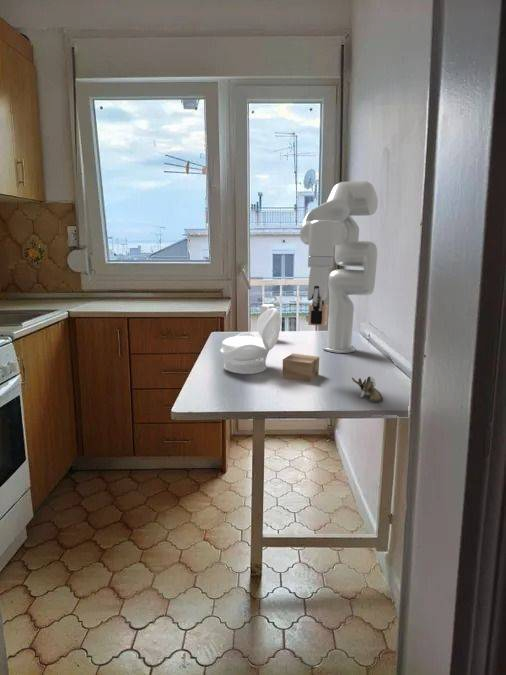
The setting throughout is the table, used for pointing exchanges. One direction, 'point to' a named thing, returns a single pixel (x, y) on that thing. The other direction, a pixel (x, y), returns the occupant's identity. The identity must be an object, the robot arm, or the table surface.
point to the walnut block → (300, 367)
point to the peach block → (324, 315)
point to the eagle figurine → (369, 389)
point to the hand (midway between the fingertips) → (317, 321)
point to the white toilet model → (252, 345)
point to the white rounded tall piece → (266, 307)
